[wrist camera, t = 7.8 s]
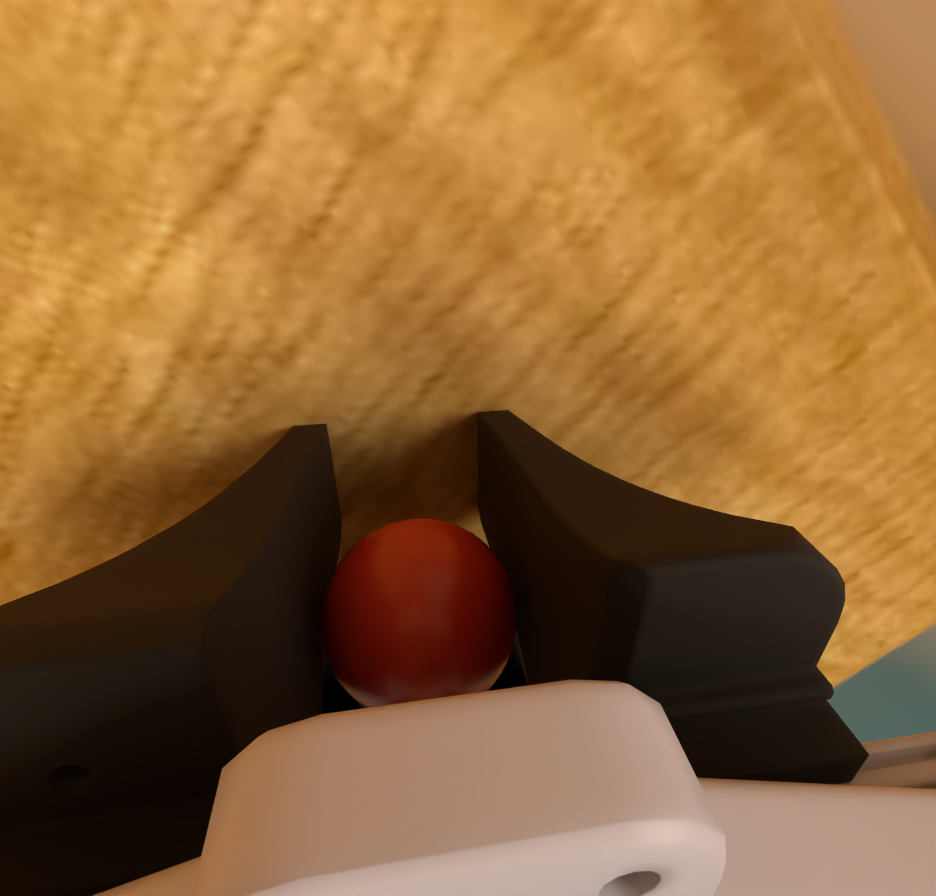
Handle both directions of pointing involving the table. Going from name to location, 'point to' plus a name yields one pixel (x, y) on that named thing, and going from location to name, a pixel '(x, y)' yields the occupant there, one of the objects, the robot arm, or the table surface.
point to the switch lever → (418, 615)
